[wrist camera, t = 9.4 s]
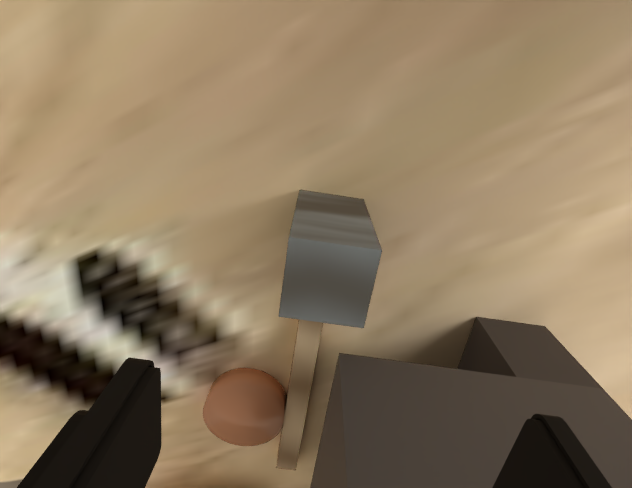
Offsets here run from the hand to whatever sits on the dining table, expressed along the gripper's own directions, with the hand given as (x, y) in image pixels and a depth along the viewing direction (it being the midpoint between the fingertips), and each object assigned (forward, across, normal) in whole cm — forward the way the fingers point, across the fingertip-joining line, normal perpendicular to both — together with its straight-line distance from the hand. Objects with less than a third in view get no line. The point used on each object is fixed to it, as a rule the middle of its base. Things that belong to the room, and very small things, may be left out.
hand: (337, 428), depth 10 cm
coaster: (+16, +4, +16) cm, 22 cm away
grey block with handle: (+16, 0, +10) cm, 18 cm away
